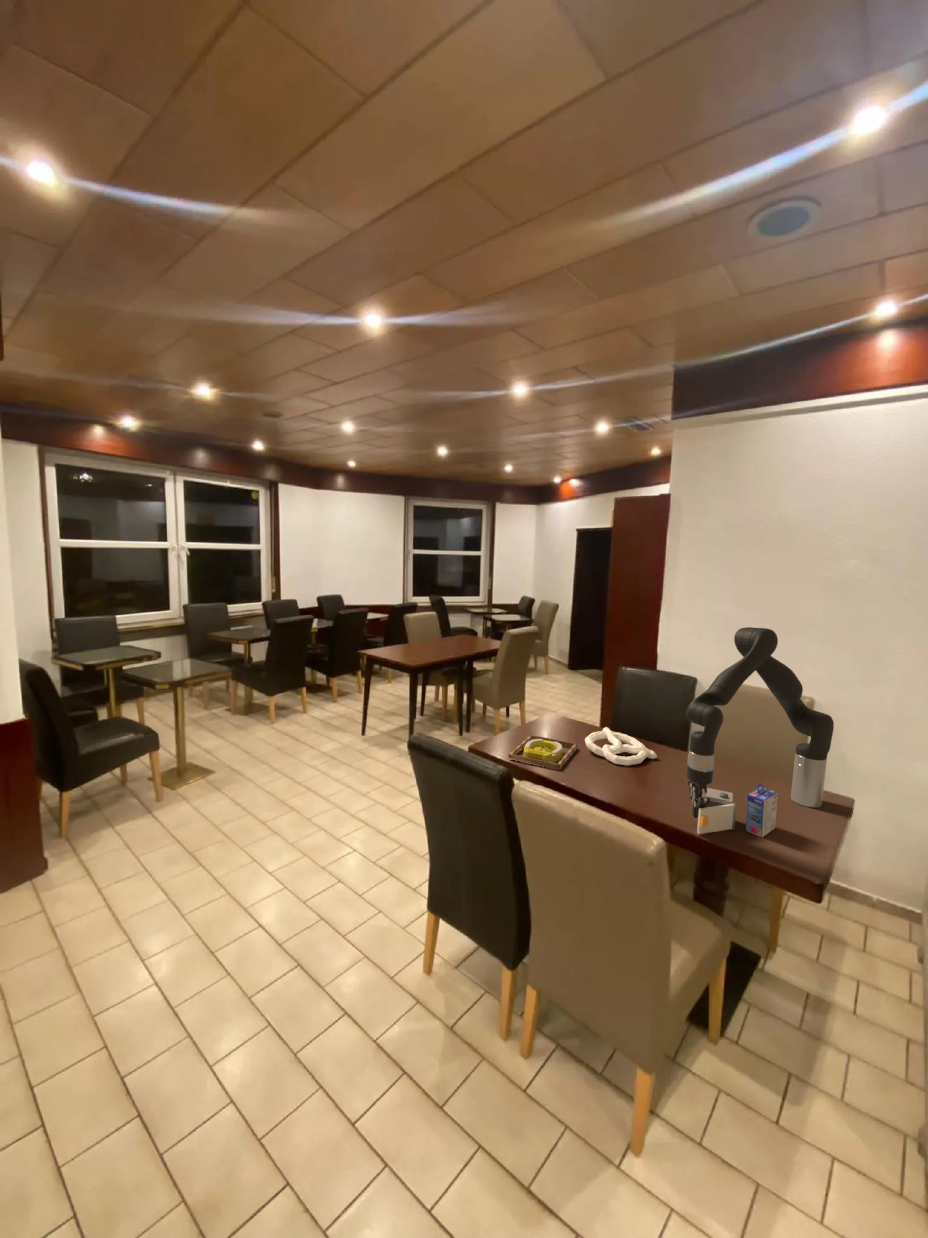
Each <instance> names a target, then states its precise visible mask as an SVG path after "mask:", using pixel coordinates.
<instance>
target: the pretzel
mask: <svg viewBox="0 0 928 1238" xmlns="http://www.w3.org/2000/svg"><path fill="white" fill-rule="evenodd" d="M606 739H607V740H608V742H609V743H610V744H604V745H603V746H598V745H597V744H595V743H594V742H595V741H597V740H606ZM584 742H585V743H584V744H585V745H586V749H587V750H589V751H590V752H593V754H596V755H598V756H601V757H603V758H605V759H606V760H607V761H610V762H611V763H613V764H616V765H621V766H622V765H623V766H633V765H639V764H641V763H643V761H644V760H645V759H646V758H648V759H651V760H654V759H657V758H658V755H657V754H656V752H655V751H654V750H652V749H649V748H647V747H646V746H645V745H644V743H642V742H640V741H639V740H638V739H636V738H635V737H633V736H629V735H628V734H626V733H625V734H624V733H621V732H620V731H619V732H616V731H612V730H611V729H610V728H609V727H607V726H605V727H603V729H602V730H601V731H600V730H599V731H595V732H592V733H590V734H588V736H586V737H585V738H584ZM622 743H624V744H622ZM625 752H626V753H630V754H632V755H631V756H625V755H623V756H621V755H617V754H621V753H625ZM634 754H636V755H634Z"/></svg>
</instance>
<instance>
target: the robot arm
mask: <svg viewBox="0 0 928 1238" xmlns="http://www.w3.org/2000/svg"><path fill="white" fill-rule="evenodd" d="M733 639H734V645H735V648H736V649H737V651H738V653H739V654H740V655H741V656H742V658H741V659H740V660H738V661H736V662H735V663H734V664H732V665H730V666H729V667H727V668H726V669H723V671H722V672H720V673H719V674H718V675H717V676H716V678H714V680H713V682H712V683H711V684H710V686H709V687H708V688H707V689H706V690H704V691H703V692H702V693H701V694H700V695H698V696H696V698H694V699H693V700H692V701H691V702H690V703H689V704H688V705H687V707H686V710H685V711H686V712H685V716H686V719H687V720H688V721H689V722H691V723H693V724H694V725H698V726H700V727H703V730H701V731H700V730H699V731H698V730H696V731H693V732H692V733H691V734H690V739H689V748H688V749H689V752H688V755H687V763H686V765H687V767H686V778H687V779H688V781H687V784H688V791H689V799H690V800H691V804H692V810H691V811H692V812H691V815H692V816H693V818H695V819H698V814H699V808H706V806H707V805H708V803H709V802H710V799H709V798H707V797H706V793H707V788H708V785H710V784H712V782H713V780H714V769H715V747H716V739H717V738H718V735H719V733H720V729H721V728H722V725H723V723H724V713H723V711H722V710H721V708H719V707H718V706H721V707H722V706H727V705H728V704H729V703H730V701H731V700H732V699H733V697H735V694H736V693H737V692H738V690H739V689H740V688H741V687H742V685H743V684H744V683H745V681H746V680H747V679H749V678H750V676H751V675H753V674H754V673H755V672H756V673H757V675H758V676H759V677H760V678H761V679H762V681H763V682H764V684H765V685H766V687H767V688H768V690H769V691H770V692H771V694H772V695H773V696H774V697H775V698H776V700H777V701H778V703H779V705H780V706H781V707H782V709H783V710H784V712H785V714H786V716H787V717H788V720H789V721H790V724H791V725H792V727H793V728H794V730H795V731H797V732H798V733H800V734H801V735H804V736H808V737H810V740H809V742H805V743H804V742H803V743H802V742H801V743H798V744H796V745H795V750H794V751H795V752H794V753H795V754H794V763H793V774H792V780H791V781H792V782H791V791H790V799H791V801H792V802H794V803H795V804H798V805H801V806H804V807H806V808H807V807H808V808H809V807H810V808H821V806H822V804H823V795H824V789H825V788H824V786H825V779H826V769H827V761H828V760H827V759H828V754H829V752H830V750H831V745H832V740H833V733H834V727H835V725H834V719H833V718H832V716H830V714H827V713H825V712H821V711H819V710H818V711H817V710H815V709H812V708H809V707H808V706H807V705H806V704H805V703H804V701H803V700H802V696H803V689H804V688H803V684H802V682H801V681H800V680H799V678H798V676H797V675H796V674H795V672H794V671H793V670H792V669H791V668H789V667H788V666H787V665H786V664H785V663H783V662H782V661H779V660H778V659H776V658H775V657H773V656H772V655H773V653H775V651H776V649H777V648H778V643H779V639H778V635H777V633H776V632H775V631H774V630H773V629H770V628H766V627H751V626H748V627H741V628H739V629H737V630H736V632H735V634H734V638H733Z"/></svg>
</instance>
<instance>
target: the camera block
mask: <svg viewBox="0 0 928 1238" xmlns="http://www.w3.org/2000/svg"><path fill="white" fill-rule="evenodd" d="M706 797H707V798H709V799H710V802H709V803H708V805H707V806H706V807H714V806H721V805H728V804H733V801H734V799H733V797H734V794H733V792H731V791H726V790H725V791H724V790H719V789H715V788H709V787H707V793H706Z"/></svg>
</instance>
